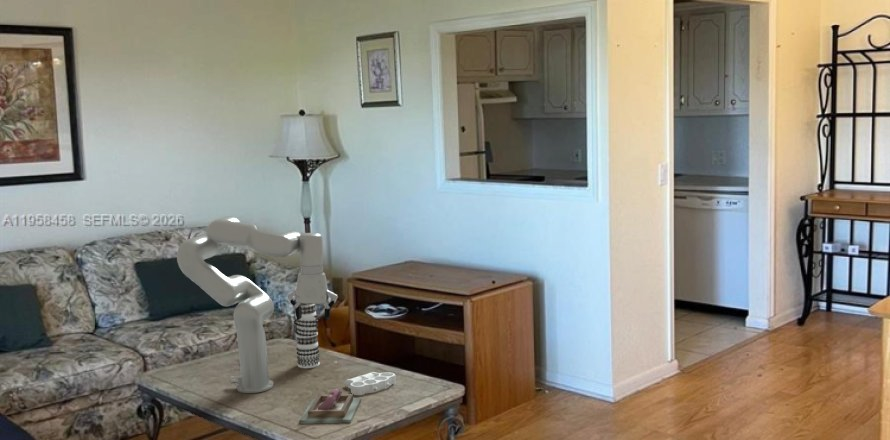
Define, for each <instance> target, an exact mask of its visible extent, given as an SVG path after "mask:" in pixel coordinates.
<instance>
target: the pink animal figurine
mask: <svg viewBox="0 0 890 440" xmlns="http://www.w3.org/2000/svg"><path fill="white" fill-rule="evenodd" d="M342 392H343V391H342V390H341V389H339V388H333V389H332V390H330V391H329V393H328V394H327V395H328V397H327V398H326V400H325V401H324V402H323V403H322V404H320V405H319V407H318V410H328V409H330V410H331V409H332V408H333V406H335V405H336V404H337V401H338V399H339V398H340V396H341V394H343V393H342Z"/></svg>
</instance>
